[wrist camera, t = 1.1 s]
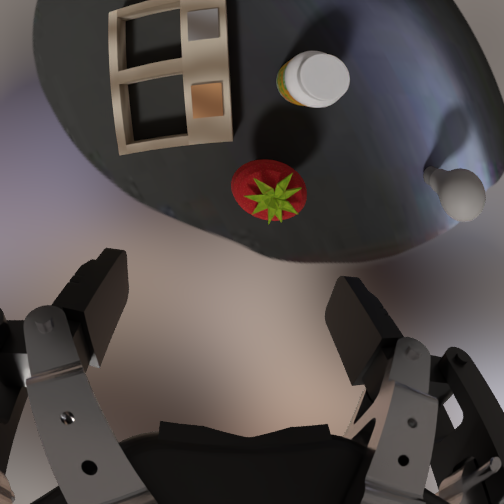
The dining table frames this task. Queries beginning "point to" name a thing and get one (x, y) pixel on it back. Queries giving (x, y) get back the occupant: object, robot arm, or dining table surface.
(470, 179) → the lightbulb
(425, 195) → the dining table surface
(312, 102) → the supplement bottle
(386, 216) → the dining table surface
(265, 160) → the strawberry
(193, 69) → the socket plate
